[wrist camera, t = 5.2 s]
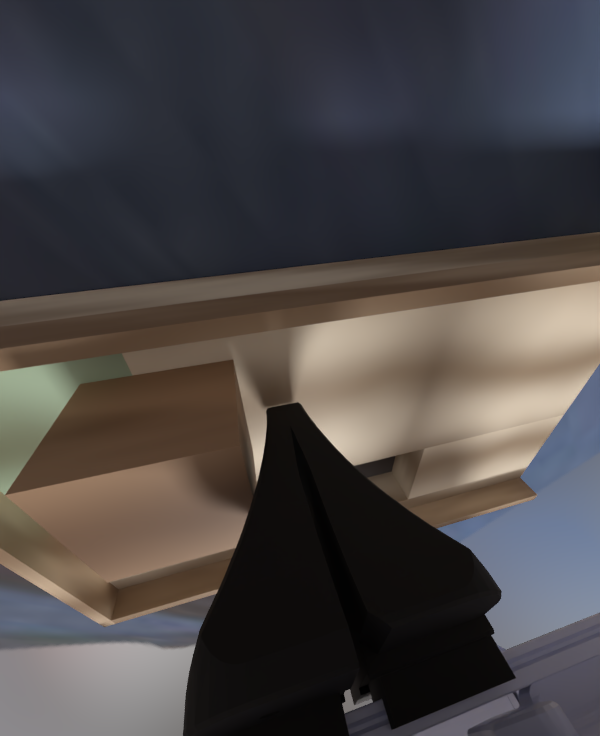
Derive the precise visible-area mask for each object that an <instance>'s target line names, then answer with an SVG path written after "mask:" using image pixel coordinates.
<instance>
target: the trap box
mask: <svg viewBox="0 0 600 736" xmlns="http://www.w3.org/2000/svg"><path fill="white" fill-rule="evenodd" d="M227 360H233V361H234V365H235V370H236V375H237V379H238V384H239V388H240V393H241V398H242V402H243V407H244V412H245V416H246V421H247V426H248V430H249V435H250V439H251V444H252V449H253V456H254V464H255V473H256V481H258V477H259V472H260V468H261V463H262V458H263V453H264V446H265V439H266V429H267V415H266V410H267V409H268V408H271V407H276V406H281V405H286V404H291V403H296V402H299V403H300V404H301V405H302V407H303V408H304V410H305V411H306V413H307V414H308V415H309V417H310V418H311V419H312V421H313V422H314V423H315V424H316V426H317V427H318V428H319V429H320V431H321V432H322V433H323V434H324V435H325V436H326V438H327V439H328V440H329V441H330V442H331V443H332V444H333V445H334V446H335V448H336V449H337V450H338V451H339V452H340V453H341V454H342V455H343V456H344V457H345V458H346V459H347V460H348V461H349V462H350V463H351V464H352V465H354V466H355V467H356V468H357V469H358V470H359V471H360V472H361V473H362V474H363V475H365V476H366V477H367V478H368V479H369V480H370V481H372V482H373V483H374V484H375V485H376V486H378V487H379V488H380V489H381V490H383V491H384V492H385V493H386V494H388V495H389V496H391V497H392V498H393V499H395V500H396V501H397V502H399V503H400V504H401V505H403V506H404V507H405V508H407V509H408V510H409V511H411V512H412V513H414V514H415V515H417V516H418V517H420V518H421V519H423V520H424V521H426V522H427V523H429V524H430V525H432V526H433V527H435V528H439V527H442V526H446V525H449V524H453V523H456V522H459V521H463V520H466V519H469V518H473V517H476V516H479V515H483V514H486V513H490V512H493V511H496V510H500V509H503V508H506V507H510V506H513V505H516V504H520V503H523V502H527V501H530V500H533V499H534V498H535V497H536V496H537V494H536V493H535V492H534V491H533V490H532V489H531V488H530V487H529V486H528V485H527V484H526V483H525V482H524V481H523V480H522V479H521V478H520V477H521V475H522V474H523V472H524V471H525V470H526V468H527V467H528V465H529V464H530V462H531V461H532V460H533V458H534V457H535V455H536V454H537V452H538V451H539V449H540V448H541V447H542V445H543V444H544V442H545V441H546V439H547V438H548V437H549V435H550V434H551V432H552V431H553V429H554V428H555V427H556V425H557V424H558V422H559V421H560V419H561V418H562V417H563V415H564V414H565V412H566V411H567V409H568V408H569V407H570V405H571V404H572V402H573V401H574V399H575V398H576V397H577V395H578V394H579V392H580V391H581V389H582V388H583V387H584V385H585V384H586V382H587V381H588V379H589V378H590V377H591V375H592V374H593V372H594V371H595V369H596V368H597V367H598V365H599V364H600V232H595V233H586V234H577V235H569V236H560V237H551V238H543V239H534V240H525V241H516V242H508V243H499V244H490V245H482V246H473V247H464V248H456V249H447V250H438V251H429V252H421V253H412V254H403V255H395V256H386V257H377V258H369V259H360V260H351V261H343V262H334V263H325V264H316V265H308V266H299V267H290V268H282V269H273V270H264V271H256V272H247V273H238V274H229V275H221V276H212V277H203V278H195V279H186V280H177V281H169V282H160V283H151V284H142V285H134V286H125V287H116V288H108V289H99V290H90V291H82V292H73V293H64V294H55V295H47V296H38V297H29V298H21V299H12V300H3V301H0V564H2V565H3V566H5V567H7V568H8V569H10V570H11V571H13V572H15V573H16V574H18V575H20V576H21V577H23V578H25V579H26V580H28V581H30V582H31V583H33V584H35V585H36V586H38V587H39V588H41V589H43V590H44V591H46V592H48V593H49V594H51V595H53V596H54V597H56V598H58V599H59V600H61V601H62V602H64V603H66V604H67V605H69V606H71V607H72V608H74V609H76V610H77V611H79V612H81V613H82V614H84V615H86V616H87V617H89V618H90V619H92V620H94V621H95V622H97V623H99V624H100V625H102V626H104V627H106V626H109V625H113V624H116V623H119V622H123V621H126V620H129V619H133V618H136V617H140V616H143V615H146V614H150V613H153V612H156V611H160V610H163V609H166V608H170V607H173V606H177V605H180V604H183V603H187V602H190V601H193V600H197V599H200V598H203V597H207V596H210V595H214V594H217V592H218V589H219V587H220V585H221V583H222V580H223V578H224V576H225V573H226V571H227V568H228V566H229V563H230V561H231V558H232V556H233V553H234V551H235V548H233V549H229V550H225V551H222V552H218V553H214V554H211V555H207V556H203V557H200V558H196V559H192V560H189V561H185V562H181V563H178V564H174V565H170V566H167V567H163V568H159V569H156V570H152V571H148V572H144V573H141V574H137V575H133V576H130V577H126V578H122V579H119V580H115V581H111V582H108V583H107V582H106V581H105V580H104V579H103V578H101V577H100V576H99V575H98V574H97V573H96V572H94V571H93V570H92V569H91V568H90V567H88V566H87V565H86V564H85V563H84V562H83V561H81V560H80V559H79V558H78V557H77V556H76V555H74V554H73V553H72V552H71V551H70V550H69V549H67V548H66V547H65V546H64V545H63V544H61V543H60V542H59V541H58V540H57V539H56V538H54V537H53V536H52V535H51V534H50V533H49V532H47V531H46V530H45V529H44V528H43V527H41V526H40V525H39V524H38V523H37V522H36V521H34V520H33V519H32V518H31V517H30V516H29V515H27V514H26V513H25V512H24V511H23V510H21V509H20V508H19V507H18V506H17V505H16V504H14V503H13V502H12V501H11V500H10V499H9V498H7V497H6V496H5V494H6V493H7V491H8V490H9V488H10V487H11V485H12V484H13V482H14V481H15V479H16V478H17V476H18V475H19V473H20V472H21V470H22V469H23V468H24V466H25V465H26V463H27V462H28V460H29V459H30V457H31V456H32V454H33V453H34V451H35V450H36V448H37V447H38V445H39V444H40V442H41V441H42V439H43V438H44V436H45V435H46V434H47V432H48V431H49V429H50V428H51V426H52V425H53V423H54V422H55V420H56V419H57V417H58V416H59V414H60V413H61V411H62V410H63V408H64V407H65V405H66V404H67V402H68V401H69V400H70V398H71V397H72V395H73V394H74V392H75V391H76V389H77V388H78V386H79V385H80V384H83V383H90V382H96V381H102V380H108V379H114V378H121V377H127V376H133V375H139V374H146V373H152V372H158V371H164V370H171V369H177V368H183V367H189V366H196V365H202V364H208V363H214V362H220V361H227Z"/></svg>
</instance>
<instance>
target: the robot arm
mask: <svg viewBox="0 0 600 736" xmlns="http://www.w3.org/2000/svg"><path fill="white" fill-rule="evenodd" d="M266 415H267V429H266V439H265V446H264V453H263V458H262V463H261V468H260V472H259V477H258V481H257V485H256V489H255V492H254V496H253V499H252V503H251V506H250V509H249V512H248V515H247V518H246V521H245V524H244V527H243V530H242V533H241V535H240V538H239V541H238V544H237V546H236V548H235V551H234V553H233V556H232V558H231V561H230V563H229V566H228V568H227V571H226V573H225V576H224V578H223V580H222V583H221V585H220V587H219V589H218V592H217V594H216V596H215V598H214V600H213V602H212V605H211V607H210V609H209V611H208V613H207V615H206V618H205V620H204V622H203V624H202V626H201V629H200V631H199V635H198V639H197V643H196V646H195V650H194V654H193V658H192V663H191V667H190V671H189V677H188V683H187V690H186V700H185V715H184V730H183V736H600V613H598V614H595V615H593V616H590V617H588V618H585V619H583V620H580V621H577V622H575V623H572V624H570V625H567V626H565V627H563V628H560V629H557V630H555V631H552V632H550V633H547V634H545V635H542V636H540V637H537V638H535V639H532V640H529V641H527V642H524V643H522V644H519V645H517V646H514V647H512V648H509V649H507V650H506V649H504V648H502V647H500V646H499V645H497V644H496V643H495V641H494V639H493V638H492V636H491V635H492V634H494V630H493V628H492V626H491V624H490V623H489V621H488V619H487V618H486V616H485V613H487V612H488V611H489V610H490V609H491V608H492V607H493V606H494V605H496V604H497V603H498V602H499V601H500V599H501V590H500V589H499V587H498V586H497V584H496V583H495V581H494V580H493V578H492V577H491V575H490V574H489V572H488V571H487V570H486V569H485V567H484V566H483V565H482V564H481V562H480V561H479V560H478V559H477V557H476V556H475V555H474V554H473V553H472V551H471V550H470V549H469V548H467V547H466V546H464V545H462V544H461V543H459V542H457V541H456V540H454V539H452V538H451V537H449V536H447V535H446V534H444V533H443V532H441V531H439V530H438V529H436V528H435V527H433V526H432V525H430V524H429V523H427V522H426V521H424V520H423V519H421V518H420V517H418V516H417V515H415V514H414V513H412V512H411V511H409V510H408V509H407V508H405V507H404V506H403V505H401V504H400V503H399V502H397V501H396V500H395V499H393V498H392V497H391V496H389V495H388V494H386V493H385V492H384V491H383V490H381V489H380V488H379V487H378V486H376V485H375V484H374V483H373V482H372V481H370V480H369V479H368V478H367V477H366V476H365V475H363V474H362V473H361V472H360V471H359V470H358V469H357V468H356V467H355V466H354V465H352V464H351V463H350V462H349V461H348V460H347V459H346V458H345V457H344V456H343V455H342V454H341V453H340V452H339V451H338V450H337V449H336V448H335V446H334V445H333V444H332V443H331V442H330V441H329V440H328V439H327V438H326V436H325V435H324V434H323V433H322V432H321V431H320V429H319V428H318V427H317V426H316V424H315V423H314V422H313V421H312V419H311V418H310V417H309V415H308V414H307V413H306V411H305V410H304V408H303V407H302V405H301V404H300V403H299V402H296V403H291V404H286V405H281V406H276V407H271V408H268V409H267V410H266ZM348 689H350V690H351V694H352V698H353V702H354V705H356V704H359V703H361V702H364V701H367V700H369V699H372V700H373V703H370V704H368V705H365V706H363V707H360V708H358V709H355V710H352V711H350V712H348V713H345V714H344V710H343V706H342V703H344V702H345V697H344V692H345V690H348Z"/></svg>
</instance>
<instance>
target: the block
mask: <svg viewBox="0 0 600 736" xmlns="http://www.w3.org/2000/svg"><path fill="white" fill-rule="evenodd" d="M256 485H257V481H256V473H255V464H254V456H253V449H252V444H251V439H250V435H249V430H248V426H247V421H246V416H245V412H244V407H243V402H242V398H241V393H240V388H239V384H238V379H237V375H236V370H235V365H234V361H233V360H227V361H220V362H214V363H208V364H202V365H196V366H189V367H183V368H177V369H171V370H164V371H158V372H152V373H146V374H139V375H133V376H127V377H121V378H114V379H108V380H102V381H96V382H90V383H83V384H80V385H79V386H78V388H77V389H76V391H75V392H74V394H73V395H72V397H71V398H70V400H69V401H68V402H67V404H66V405H65V407H64V408H63V410H62V411H61V413H60V414H59V416H58V417H57V419H56V420H55V422H54V423H53V425H52V426H51V428H50V429H49V431H48V432H47V434H46V435H45V436H44V438H43V439H42V441H41V442H40V444H39V445H38V447H37V448H36V450H35V451H34V453H33V454H32V456H31V457H30V459H29V460H28V462H27V463H26V465H25V466H24V468H23V469H22V470H21V472H20V473H19V475H18V476H17V478H16V479H15V481H14V482H13V484H12V485H11V487H10V488H9V490H8V491H7V493H6V494H5V496H6V497H7V498H9V499H10V500H11V501H12V502H13V503H14V504H16V505H17V506H18V507H19V508H20V509H21V510H23V511H24V512H25V513H26V514H27V515H29V516H30V517H31V518H32V519H33V520H34V521H36V522H37V523H38V524H39V525H40V526H41V527H43V528H44V529H45V530H46V531H47V532H49V533H50V534H51V535H52V536H53V537H54V538H56V539H57V540H58V541H59V542H60V543H61V544H63V545H64V546H65V547H66V548H67V549H69V550H70V551H71V552H72V553H73V554H74V555H76V556H77V557H78V558H79V559H80V560H81V561H83V562H84V563H85V564H86V565H87V566H88V567H90V568H91V569H92V570H93V571H94V572H96V573H97V574H98V575H99V576H100V577H101V578H103V579H104V580H105V581H106V582H107V583H108V582H111V581H115V580H119V579H122V578H126V577H130V576H133V575H137V574H141V573H144V572H148V571H152V570H156V569H159V568H163V567H167V566H170V565H174V564H178V563H181V562H185V561H189V560H192V559H196V558H200V557H203V556H207V555H211V554H214V553H218V552H222V551H225V550H229V549H233V548H236V546H237V544H238V541H239V538H240V535H241V533H242V530H243V527H244V524H245V521H246V518H247V515H248V512H249V509H250V506H251V503H252V499H253V496H254V492H255V489H256Z"/></svg>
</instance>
